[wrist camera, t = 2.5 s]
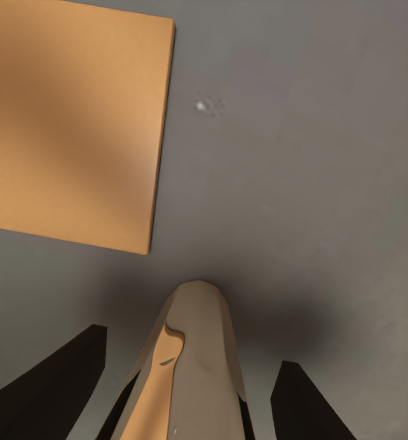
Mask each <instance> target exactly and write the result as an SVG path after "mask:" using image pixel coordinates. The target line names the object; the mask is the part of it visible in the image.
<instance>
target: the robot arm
mask: <svg viewBox="0 0 408 440" xmlns="http://www.w3.org/2000/svg"><path fill="white" fill-rule="evenodd" d="M107 329H108V327H105V326H100V325H95V324H93V325H91V326H90V327H88V328H87V329H86V330H84V331H83V332H81V333H80V334H79V335H77V336H76V337H75V338H73V339H72V340H71V341H69V342H68V343H67V344H65V345H64V346H63V347H61V348H60V349H59V350H57V351H56V352H54V353H53V354H52V355H50V356H49V357H47V358H46V359H45V360H43V361H42V362H40V363H39V364H38V365H36V366H35V367H33V368H32V369H30V370H29V371H28V372H26V373H25V374H23V375H22V376H20V377H19V378H17V379H16V380H14V381H13V382H11V383H10V384H8V385H7V386H5V387H4V388H2V389H1V390H0V440H66V438H67V436H68V435H69V433H70V431H71V430H72V428H73V426H74V425H75V423H76V421H77V419H78V418H79V416H80V414H81V413H82V411H83V409H84V407H85V406H86V404H87V402H88V401H89V399H90V397H91V395H92V393H93V391H94V389H95V387H96V385H97V383H98V381H99V378H100V376H101V374H102V372H103V370H104V368H105V357H106V343H107ZM270 400H271V407H272V415H273V421H274V427H275V434H276V438H277V440H357V439H356V438H355V437H354V436H353V434H352V433H351V432H350V431H349V429H348V428H347V427H346V425H345V424H344V423H343V422H342V420H341V419H340V418H339V416H338V415H337V414H336V413H335V411H334V410H333V409H332V407H331V406H330V405H329V403H328V402H327V401H326V399H325V398H324V397H323V395H322V394H321V393H320V392H319V390H318V389H317V388H316V386H315V385H314V384H313V382H312V381H311V380H310V378H309V377H308V376H307V374H306V373H305V372H304V370H303V369H302V368H301V366H300V365H299V364H298V363H295V362H289V361H284V360H283V361H282V364H281V368H280V371H279V374H278V377H277V380H276V383H275V386H274V389H273V392H272V395H271V398H270Z"/></svg>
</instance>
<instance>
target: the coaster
mask: <svg viewBox="0 0 408 440" xmlns="http://www.w3.org/2000/svg"><path fill="white" fill-rule="evenodd" d="M174 34H175V23H174V20H173V19H169V18H163V17H157V16H151V15H145V14H139V13H133V12H127V11H121V10H115V9H109V8H103V7H97V6H91V5H85V4H79V3H73V2H67V1H61V0H0V228H1V229H6V230H12V231H17V232H23V233H28V234H34V235H39V236H45V237H50V238H56V239H61V240H67V241H72V242H77V243H83V244H88V245H94V246H99V247H105V248H110V249H116V250H121V251H127V252H132V253H138V254H143V255H147V254H148V253H149V250H150V242H151V233H152V224H153V216H154V207H155V198H156V190H157V181H158V172H159V164H160V155H161V146H162V138H163V129H164V120H165V112H166V103H167V94H168V86H169V77H170V68H171V60H172V51H173V42H174Z"/></svg>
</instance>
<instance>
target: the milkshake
mask: <svg viewBox="0 0 408 440" xmlns="http://www.w3.org/2000/svg"><path fill="white" fill-rule="evenodd" d="M94 440H256V437H255V433H254V428H253V424H252V419H251V415H250V410H249V406H248V401H247V396H246V391H245V386H244V381H243V376H242V371H241V366H240V361H239V356H238V351H237V346H236V341H235V337H234V332H233V327H232V322H231V317H230V312H229V307H228V303H227V301H226V299H225V298H224V296H223V295H222V293H221V292H220V290H219V289H218V287H217V286H214V285H212V284H209V283H207V282H204V281H202V280H195V281H190V282H185V283H181V284H180V285H179V286H178V287H177V288H176V289H175V290H174V291H173V292H172V294H171V295H170V296H169V297H168V299H167V301H166V303H165V305H164V307H163V309H162V311H161V313H160V315H159V317H158V319H157V320H156V322H155V324H154V326H153V328H152V330H151V332H150V334H149V336H148V338H147V340H146V342H145V344H144V346H143V348H142V350H141V352H140V354H139V356H138V358H137V360H136V362H135V364H134V366H133V368H132V370H131V372H130V374H129V376H128V378H127V380H126V381H125V383H124V385H123V387H122V389H121V391H120V393H119V395H118V397H117V399H116V400H115V402H114V404H113V406H112V408H111V410H110V412H109V413H108V415H107V417H106V419H105V421H104V423H103V424H102V426H101V428H100V430H99V432H98V434H97V436H96V437H95V439H94Z"/></svg>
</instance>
